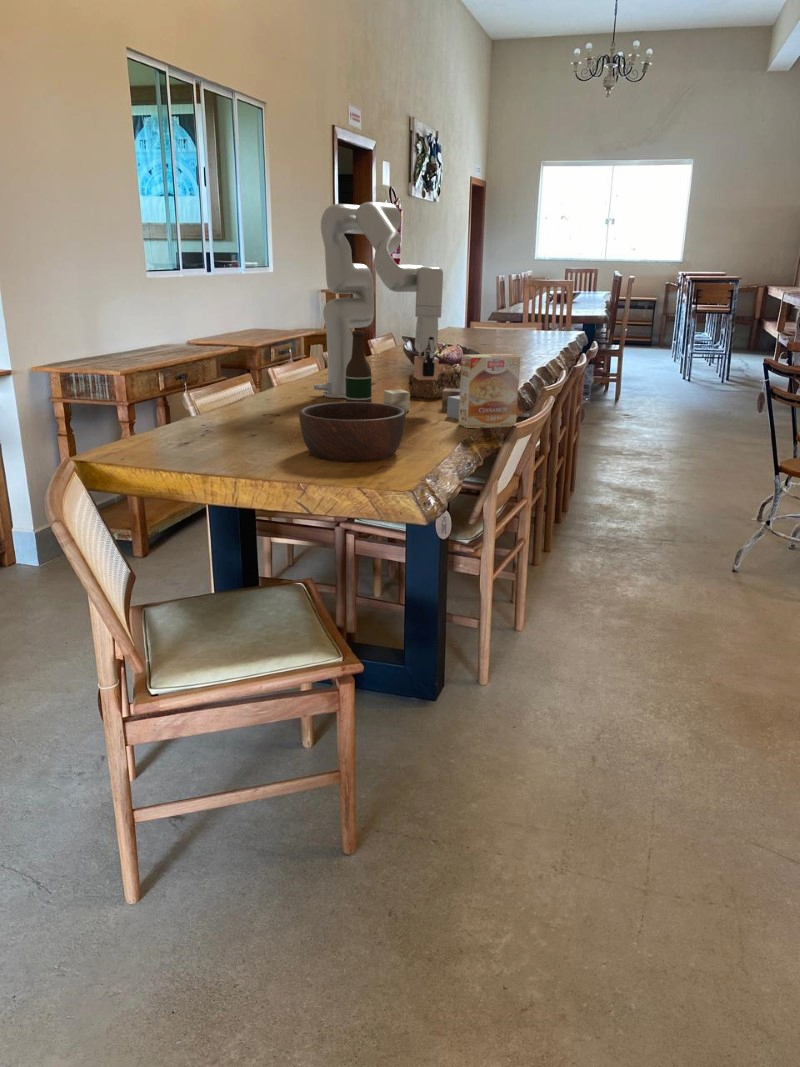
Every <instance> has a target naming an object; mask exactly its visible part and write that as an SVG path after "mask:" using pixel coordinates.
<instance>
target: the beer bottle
mask: <svg viewBox="0 0 800 1067" xmlns="http://www.w3.org/2000/svg"><path fill="white" fill-rule="evenodd" d="M351 332H352V335H353V345H352V357H351V360H350V361H349V363H348V365H347V368H346V398H345V402H369V403H372V369H371V366H370V364H369V362H368V361H367V359H366V351H365V338H364V337H365V335H366V334H365V331H363V330H353V331H351Z"/></svg>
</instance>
